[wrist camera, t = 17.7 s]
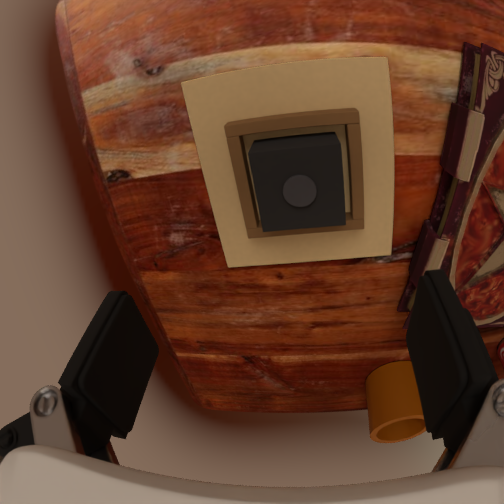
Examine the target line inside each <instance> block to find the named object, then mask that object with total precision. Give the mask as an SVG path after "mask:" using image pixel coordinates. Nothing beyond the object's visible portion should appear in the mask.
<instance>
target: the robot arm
mask: <svg viewBox="0 0 504 504" xmlns="http://www.w3.org/2000/svg"><path fill="white" fill-rule="evenodd" d="M406 342H407V347H408V351H409V354H410V358H411V362H412V366H413V370H414V375H415V379H416V383H417V388H418V392H419V397H420V401H421V406H422V411H423V416H424V421H425V427H426V430H427V432H428V433H430V432H431V433H432V438H433V440H434V439H439V438H443V440H444V446H445V447H446V448H445V450H444V452H443V454H442V455H441V457H440V459H439V460H438V462H437V464H436V465H435V467H434V468H433V470H432V472H431V473H426V474H421V475H416V476H410V477H404V478H399V479H392V480H385V481H377V482H369V483H361V484H351V485H339V486H323V487H258V486H257V487H256V486H241V485H228V484H219V483H210V482H202V481H195V480H188V479H182V478H176V477H170V476H165V475H160V474H155V473H150V472H146V471H141V470H136V469H133V468H129V467H125V466H121V465H120V464H119V462H118V460H117V457H116V455H115V452H114V450H113V447H112V445H111V442H110V438H111V435H112V436H114V437H118V438H123V439H126V437H127V434H128V432H130V431H131V430H132V428H133V425H134V422H135V419H136V416H137V413H138V410H139V407H140V404H141V401H142V399H143V396H144V393H145V390H146V387H147V384H148V381H149V378H150V376H151V373H152V370H153V367H154V365H155V362H156V359H157V356H158V353H159V348H158V345H157V343H156V341H155V339H154V337H153V336H152V334H151V332H150V330H149V328H148V327H147V325H146V323H145V321H144V319H143V317H142V315H141V313H140V311H139V309H138V308H137V306H136V304H135V302H134V300H133V298H132V296H130V295H128V293H127V292H125V291H111V292H109V293H108V294H107V296H106V297H105V299H104V300H103V302H102V304H101V305H100V307H99V309H98V311H97V312H96V314H95V316H94V317H93V319H92V321H91V322H90V324H89V326H88V328H87V330H86V331H85V333H84V335H83V337H82V338H81V340H80V342H79V344H78V346H77V347H76V349H75V351H74V353H73V355H72V357H71V358H70V360H69V362H68V364H67V366H66V368H65V370H64V372H63V374H62V376H61V378H60V380H59V382H58V383H59V384H60V385H61V388H60V390H59V389H58V388H57V387H55V386H45V387H43V388H41V389H40V390H39V391H37V392H36V393H35V394H34V396H33V398H32V400H31V403H30V412H29V413H27V414H25V415H23V416H22V417H20V418H18V419H16V420H15V421H13V422H11V423H9V424H8V425H6V426H4V427H3V428H2V429H1V430H0V504H504V379H501V380H498V377H497V374H496V371H495V369H494V366H493V364H492V361H491V359H490V356H489V354H488V351H487V349H486V347H485V344H484V342H483V339H482V337H481V335H480V333H479V330H478V328H477V326H476V324H475V322H474V320H473V317H472V315H471V313H470V312H469V310H468V309H466V308H463V306H462V304H461V302H460V300H459V298H458V296H457V294H456V292H455V290H454V288H453V286H452V284H451V282H450V280H449V278H448V276H447V275H446V273H445V271H444V270H443V269H436V270H427V271H425V273H424V276H420V277H419V280H418V285H417V290H416V295H415V300H414V304H413V309H412V313H411V318H410V322H409V326H408V330H407V334H406Z"/></svg>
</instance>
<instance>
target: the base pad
mask: <svg viewBox="0 0 504 504" xmlns="http://www.w3.org/2000/svg"><path fill="white" fill-rule="evenodd" d="M181 85H182V90H183V94H184V98H185V102H186V107H187V111H188V115H189V119H190V123H191V127H192V131H193V135H194V139H195V143H196V147H197V151H198V155H199V159H200V163H201V167H202V171H203V175H204V179H205V183H206V187H207V190H208V194H209V198H210V202H211V206H212V210H213V213H214V217H215V221H216V225H217V228H218V232H219V236H220V240H221V243H222V247H223V251H224V254H225V258H226V262H227V265H228V267H242V266H256V265H270V264H284V263H297V262H310V261H323V260H336V259H348V258H361V257H373V256H385V255H391V248H392V233H393V214H394V131H393V112H392V98H391V86H390V76H389V66H388V58H387V57H348V58H329V59H316V60H305V61H295V62H286V63H278V64H271V65H264V66H258V67H251V68H246V69H240V70H234V71H229V72H224V73H219V74H215V75H210V76H205V77H201V78H197V79H193V80H189V81H185V82H181ZM323 132H335V133H336V135H337V137H338V139H339V141H340V143H341V149H342V162H343V176H344V192H345V213H346V225H342V226H329V227H317V228H305V229H293V230H282V231H271V232H263V230H262V225H261V219H260V214H259V209H258V204H257V198H256V193H255V188H254V183H253V178H252V173H251V168H250V162H249V157H248V152H249V150H250V148H251V146H252V143H253V141H254V140H259V139H267V138H275V137H283V136H292V135H301V134H312V133H323Z"/></svg>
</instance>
